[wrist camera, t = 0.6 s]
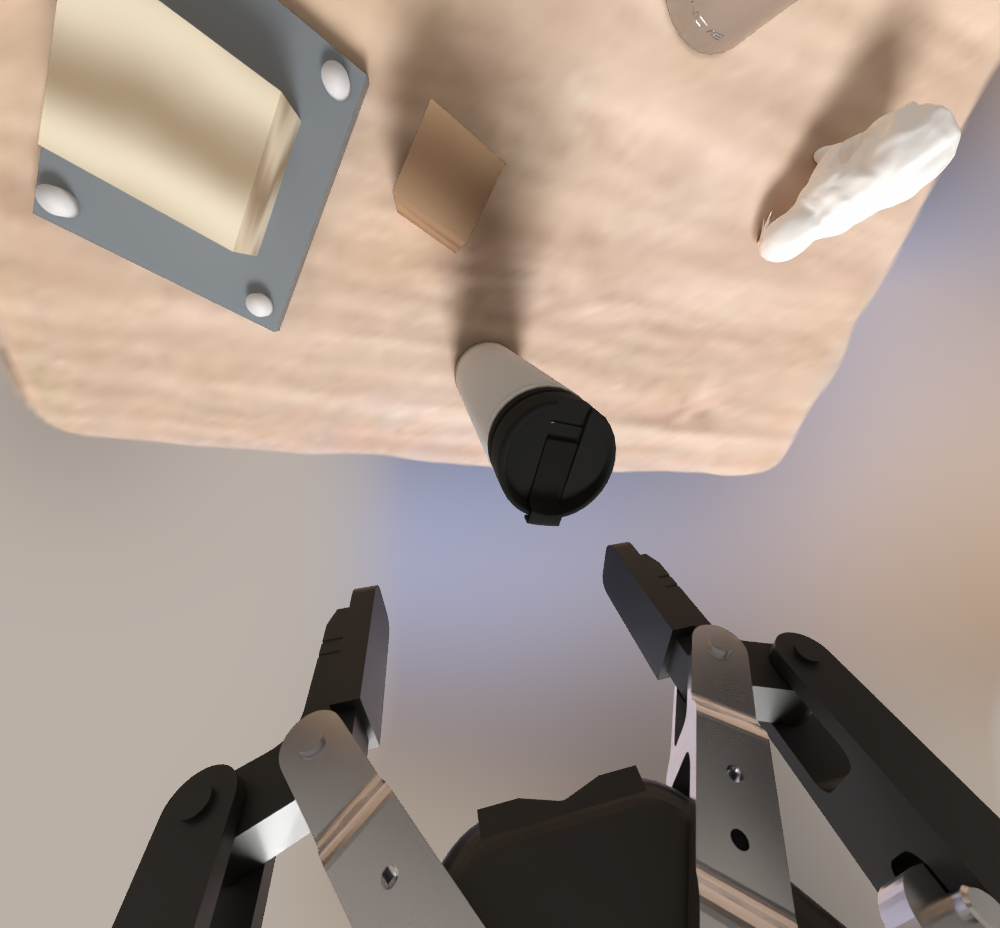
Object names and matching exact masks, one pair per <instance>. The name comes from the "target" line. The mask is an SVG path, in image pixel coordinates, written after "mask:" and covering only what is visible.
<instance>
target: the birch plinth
mask: <svg viewBox="0 0 1000 928" xmlns="http://www.w3.org/2000/svg"><path fill="white" fill-rule="evenodd" d="M300 124H301V120H300V118H299V117H298V115H297V114H296V113H295V111H294V110H293V108H292V107H291V105H290V104H289V102H288V101H287V99H286V98H285V96H284V95H283V93H282V92H281V91H280V90H278V89H277V88H276V87H274V86H273V85H272V84H270V83H269V82H268V81H266V80H265V79H264V78H262V77H261V76H260V75H258V74H257V73H256V72H254V71H253V70H252V69H250V68H249V67H248V66H246V65H245V64H244V63H242V62H241V61H240V60H238V59H237V58H235V57H234V56H233V55H231V54H230V53H229V52H227V51H226V50H225V49H223V48H222V47H221V46H219V45H218V44H217V43H215V42H214V41H213V40H211V39H210V38H209V37H207V36H206V35H205V34H203V33H202V32H201V31H199V30H198V29H197V28H195V27H194V26H193V25H191V24H190V23H189V22H187V21H186V20H184V19H183V18H182V17H180V16H179V15H178V14H176V13H175V12H174V11H172V10H171V9H170V8H168V7H167V6H166V5H164V4H163V3H162V2H160V1H159V0H57V6H56V13H55V21H54V28H53V35H52V43H51V50H50V58H49V65H48V73H47V80H46V87H45V95H44V102H43V110H42V117H41V124H40V132H39V139H38V145H40V146H42V147H44V148H46V149H47V150H49V151H51V152H53V153H55V154H56V155H58V156H60V157H62V158H64V159H66V160H67V161H69V162H71V163H73V164H75V165H76V166H78V167H80V168H82V169H84V170H86V171H87V172H89V173H91V174H93V175H95V176H96V177H98V178H100V179H102V180H104V181H105V182H107V183H109V184H111V185H113V186H115V187H116V188H118V189H120V190H122V191H124V192H125V193H127V194H129V195H131V196H133V197H135V198H136V199H138V200H140V201H142V202H144V203H145V204H147V205H149V206H151V207H153V208H154V209H156V210H158V211H160V212H162V213H164V214H165V215H167V216H169V217H171V218H173V219H174V220H176V221H178V222H180V223H182V224H183V225H185V226H187V227H189V228H191V229H193V230H194V231H196V232H198V233H200V234H202V235H203V236H205V237H207V238H209V239H211V240H213V241H214V242H216V243H218V244H220V245H222V246H223V247H225V248H227V249H229V250H231V251H232V252H237V253H243V254H248V255H253V256H258V253H259V250H260V247H261V243H262V240H263V237H264V234H265V231H266V228H267V225H268V222H269V219H270V216H271V213H272V210H273V207H274V204H275V200H276V197H277V194H278V191H279V188H280V185H281V182H282V179H283V176H284V173H285V170H286V167H287V164H288V161H289V157H290V154H291V151H292V148H293V145H294V142H295V139H296V136H297V133H298V130H299V127H300Z"/></svg>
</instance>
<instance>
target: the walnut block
mask: <svg viewBox="0 0 1000 928" xmlns="http://www.w3.org/2000/svg"><path fill="white" fill-rule="evenodd" d="M504 165H505V162H504V161H503V160H501V159H500V158H499V157H498V156H497V155H496V154H495V153H493V152H492V151H491V150H490V149H489V148H488V147H487V146H485V145H484V144H483V143H482V142H481V141H480V140H479V139H477V138H476V137H475V136H474V135H473V134H472V133H470V132H469V131H468V130H467V129H466V128H465V127H464V126H462V125H461V124H460V123H459V122H458V121H457V120H456V119H454V118H453V117H452V116H451V115H450V114H449V113H448V112H446V111H445V110H444V109H443V108H442V107H441V106H440V105H438V104H437V103H436V102H435V101H434V100H433V99H432V98H431V100H430V102H429V104H428V107H427V109H426V112H425V114H424V116H423V119H422V121H421V124H420V126H419V129H418V131H417V133H416V136H415V138H414V141H413V143H412V145H411V148H410V150H409V153H408V155H407V158H406V160H405V162H404V165H403V167H402V170H401V172H400V174H399V177H398V179H397V182H396V184H395V187H394V189H393V194H394V198H395V203H396V208H397V212H398V213H399V214H401V215H402V216H404V217H405V218H407V219H408V220H409V221H411V222H412V223H414V224H415V225H416V226H418V227H419V228H421V229H422V230H424V231H425V232H426V233H428V234H429V235H431V236H432V237H433V238H435V239H436V240H438V241H439V242H441V243H442V244H443V245H445V246H446V247H448V248H449V249H450V250H452V251H453V252H456V251H458V250H459V249H460V248H461V247H462V246H464V245H465V244H466V243H467V240H468V238H469V236H470V234H471V232H472V230H473V228H474V226H475V224H476V222H477V220H478V218H479V216H480V214H481V212H482V210H483V208H484V206H485V204H486V202H487V200H488V198H489V196H490V194H491V192H492V189H493V187H494V185H495V183H496V181H497V179H498V177H499V175H500V173H501V171H502V169H503V167H504Z"/></svg>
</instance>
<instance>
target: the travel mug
mask: <svg viewBox="0 0 1000 928" xmlns="http://www.w3.org/2000/svg"><path fill="white" fill-rule="evenodd" d="M455 382H456V386H457V389H458V391H459V393H460V396H461V398H462V400H463V403H464V405H465V407H466V409H467V412H468V414H469V416H470V419H471V421H472V423H473V426H474V428H475V430H476V433H477V435H478V437H479V440H480V442H481V444H482V447H483V449H484V451H485V454H486V456H487V458H488V460H489V463H490V465H491V466H492V468H493V470H494V472H495V474H496V476H497V478H498V481H499V483H500V485H501V487H502V490H503V491H504V493H505V495H506V497H507V498H508V500H509V501H510V502H511V503H512V504H513V505H514V506H515V507H516V508H518V509H519V510H520V511H522V512H524V513H526V514H527V515H525V519H526V522H527V523H530V524H535V525H546V526H559V523H560V521H561V518H562V517H564V516H568V515H570V514H573V513H576V512H577V511H579V510H581V509H583V508H584V507H586V506H587V505H588V504H589V503H591V502H592V501H593V500H594V499H595V498H596V497H597V496H598V495H599V494H600V492H601V491H602V490H603V488H604V487H605V485H606V484H607V482H608V479H609V478H610V475H611V473H612V471H613V466H614V462H615V455H616V445H615V437H614V434H613V431H612V428H611V426H610V424H609V423H608V421H607V419H606V418H605V417H604V416H603V415H601V414H600V413H599V412H598V411H597V410H595V409H594V408H593V407H592V406H591V405H590V404H588V403H587V402H586V401H584V400H582V399H581V398H580V397H579V396H578V395H577V394H576V393H574V392H572V391H571V390H570V389H568V388H567V387H565V386H563V385H562V384H560V383H559V382H557V381H556V380H554V379H553V378H551V377H550V376H548V375H547V374H545V373H544V372H542V371H541V370H539V369H538V368H536V367H535V366H533V365H532V364H530V363H529V362H527V361H526V360H524V359H523V358H521V357H520V356H518V355H517V354H515V353H514V352H512V351H511V350H509V349H508V348H506V347H504V346H503V345H501V344H498V343H495V342H481V343H478V344H475V345H473V346H471V347H470V348H468V349H467V350H466V351H465V352H464V353H463V354H462V355H461V357H460V359H459V360H458V362H457V366H456V369H455Z"/></svg>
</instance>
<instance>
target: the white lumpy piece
mask: <svg viewBox="0 0 1000 928" xmlns="http://www.w3.org/2000/svg"><path fill="white" fill-rule="evenodd" d="M960 137H961V130H960V128H959V126H958V125H957V123H956V120H955V118H954V116H953V114H952V113H951V112H950V111H949V110H948V109H947V108H946V107H944V106H942V105H934V104H923V105H919V104H918V103H916V102H914V101H912V102H910V103H908V104H906V105H904V106H902V107H900V108H898V109H896V110H894V111H892V112H889V113H887V114H885V115H883V116H881V117H880V118H878V119H877V120H876V121H875V122H874V123H872V124H871V125H870V127H869V128H868V129H867V130H866V131H865V132H861V133H859V134H857V135H855V136H853V137H850V138H849V139H847V140H845V141H843V142H841V143H837V144H835V145H828V146H824V147H821V148H820V149H818V150H817V151H816V152H815V153H814V160H815V162H816V163H818V165H817V166H816V168H815V169H814V171H813V173H812V175H811V177H810V180H809V182H808V184H807V185H806V186H805V187H804V189H803V190H802V191H801V192H800V194H799V196H798V198H797V200H796V203H795V204H794V205H793V206H792V207H791V208H790V209H789V210H788V211H787V212H786V213H785V214H784V215H781V216H780V217H779V218H777V219H776V220H775V221H773V222H772V221H771V222H772V223H770V222H769V220H770V219H769V218H770V215H771V213H772V211H771V213H770V215H769V217H768V219H767V221H766V223H765V225H764V220H765V219H764V220H763V224H762V232H761V236H760V239H759V241H758V242H757V245H758V247H759V252H760V255H761V256H762V257H763V258H764V259H766V260H767V261H772V262H783V261H787V260H790V259H792V258H794V257H795V256H797V255H798V254H800V253H801V252H802V251H803V250H805V249H806V248H807V247H808V246H809V245H810V244H811V243H812V242H813V241H814V240H817V239H821V238H825V237H832V236H836V235H839V234H841V233H843V232H845V231H847V230H848V229H850V228H851V227H852V226H853V225H854V224H857V223H859V222H861V221H863V220H864V219H866V218H867V217H869V216H871V215H873V214H874V213H875V212H877V211H878V210H882V209H885V208H889V207H892V206H894V205H896V204H899V203H901V202H904V201H906V200H908V199H910V198H911V197H913V196H914V195H915V194H916V193H917V192H918V191H919V190H920V189H921V188H922V187H924V186H925V185H926V184H928V183H929V182H930V181H932V180H933V179H934V178H936V177H937V176H938V175H939V174H940V173H941V172H942V171H943V169H944V168H945V167H946V166H947V165H948V164H949V162H950V161H951V160H952V158H953V157H954V155H955V153H956V149H957V146H958V144H959V140H960ZM774 215H775V214H774ZM764 218H765V217H764ZM774 218H775V217H774ZM768 223H770V224H768Z"/></svg>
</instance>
